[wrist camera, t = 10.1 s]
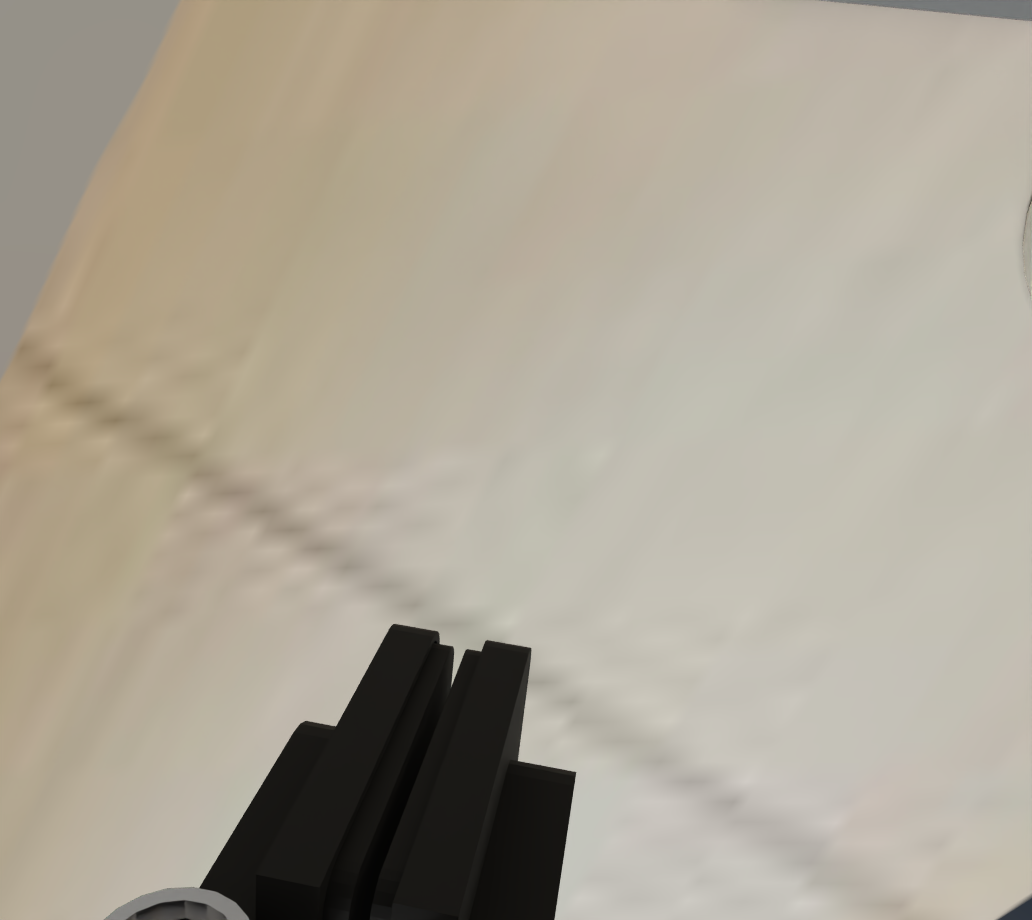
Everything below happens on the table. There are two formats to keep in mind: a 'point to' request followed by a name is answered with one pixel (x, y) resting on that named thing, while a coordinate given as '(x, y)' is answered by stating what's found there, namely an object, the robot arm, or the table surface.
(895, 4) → the mat
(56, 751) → the table surface
